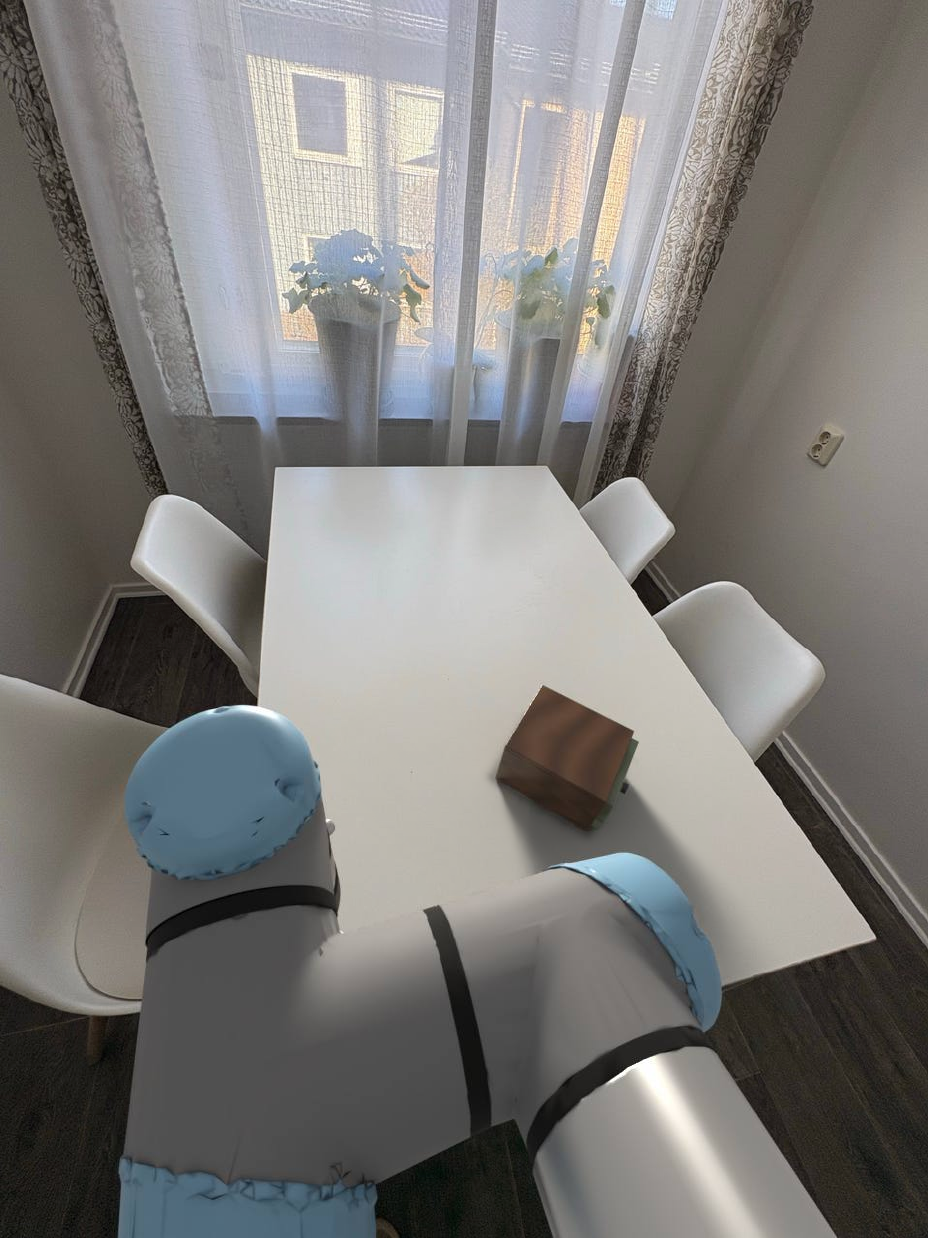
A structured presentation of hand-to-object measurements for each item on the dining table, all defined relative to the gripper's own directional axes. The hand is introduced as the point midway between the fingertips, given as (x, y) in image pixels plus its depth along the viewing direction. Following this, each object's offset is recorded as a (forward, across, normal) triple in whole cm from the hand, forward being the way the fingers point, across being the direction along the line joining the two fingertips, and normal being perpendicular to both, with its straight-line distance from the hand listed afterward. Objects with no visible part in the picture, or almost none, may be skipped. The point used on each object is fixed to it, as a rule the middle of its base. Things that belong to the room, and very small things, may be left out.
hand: (312, 960), depth 47 cm
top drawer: (+13, -1, -42) cm, 44 cm away
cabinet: (+14, +2, -41) cm, 43 cm away
